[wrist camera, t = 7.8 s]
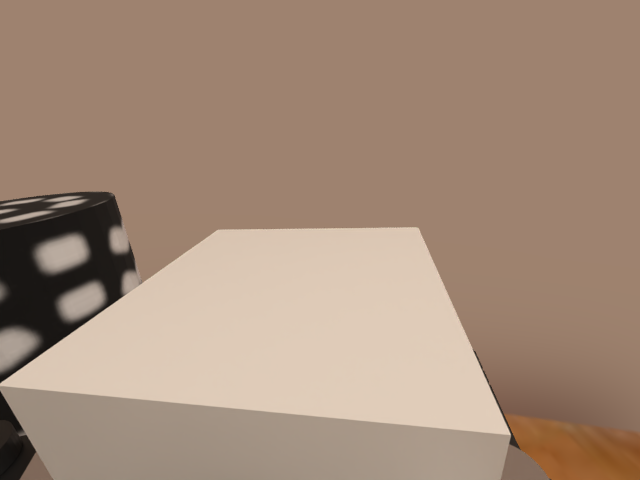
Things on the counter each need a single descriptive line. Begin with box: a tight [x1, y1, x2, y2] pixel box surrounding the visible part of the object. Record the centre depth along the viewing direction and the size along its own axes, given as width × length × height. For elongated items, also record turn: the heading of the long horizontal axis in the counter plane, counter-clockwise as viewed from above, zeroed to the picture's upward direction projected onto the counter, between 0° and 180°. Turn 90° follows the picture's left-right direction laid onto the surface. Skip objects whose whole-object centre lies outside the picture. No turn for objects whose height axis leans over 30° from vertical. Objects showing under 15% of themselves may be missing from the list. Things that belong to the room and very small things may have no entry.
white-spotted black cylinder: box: [0, 192, 142, 436], centre depth 15 cm, size 8×8×20 cm
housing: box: [0, 227, 511, 480], centre depth 8 cm, size 6×6×10 cm
